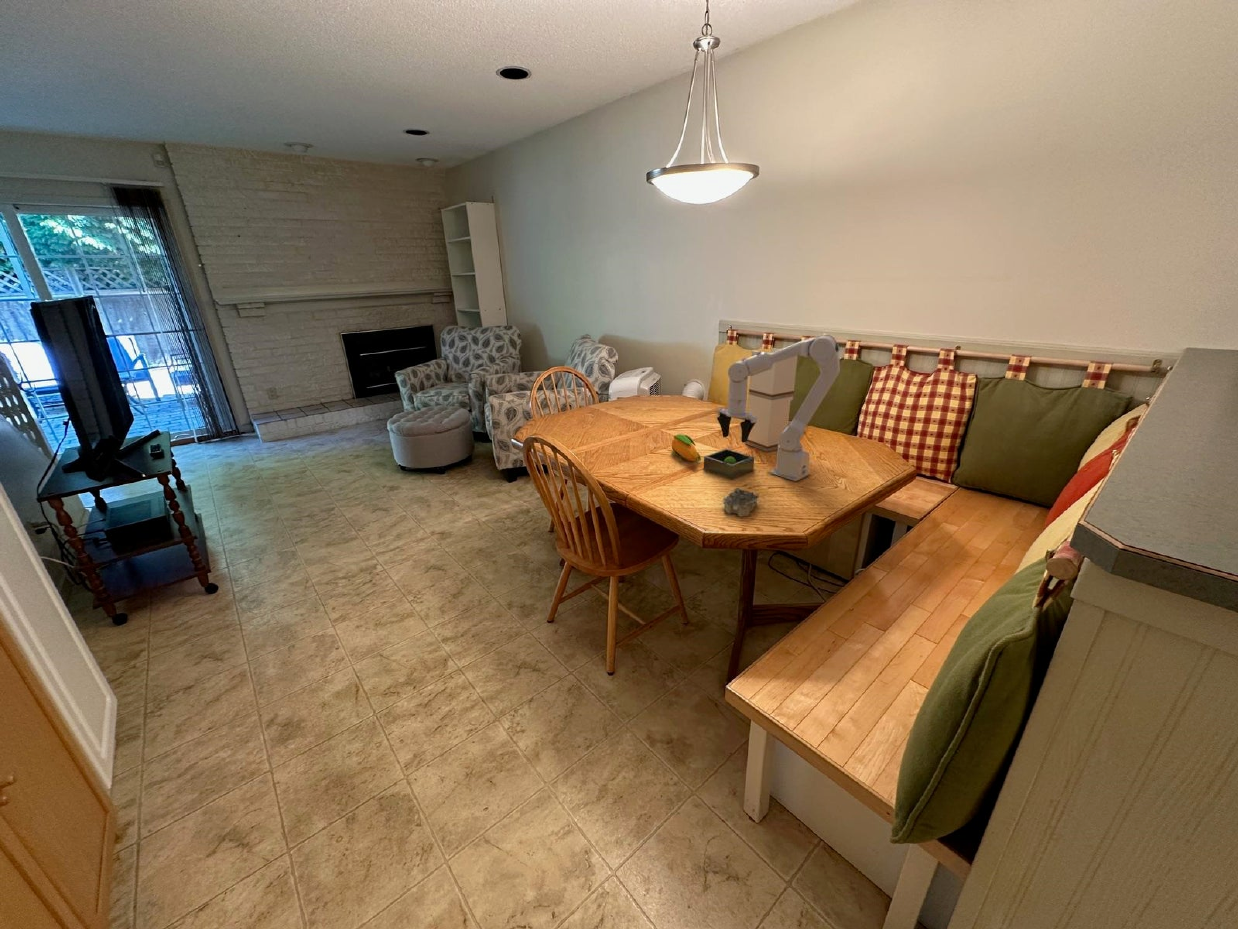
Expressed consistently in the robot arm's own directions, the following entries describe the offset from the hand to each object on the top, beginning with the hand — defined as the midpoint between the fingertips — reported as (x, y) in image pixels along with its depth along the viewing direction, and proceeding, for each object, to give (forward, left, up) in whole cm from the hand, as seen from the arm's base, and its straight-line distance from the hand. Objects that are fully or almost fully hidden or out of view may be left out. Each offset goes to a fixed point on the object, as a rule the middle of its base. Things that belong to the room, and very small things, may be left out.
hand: (734, 439), depth 159 cm
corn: (+16, +6, -10) cm, 19 cm away
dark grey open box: (-1, +4, -9) cm, 10 cm away
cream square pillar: (+5, -26, -10) cm, 28 cm away
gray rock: (-21, +24, -10) cm, 34 cm away
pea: (-1, +4, -9) cm, 10 cm away
